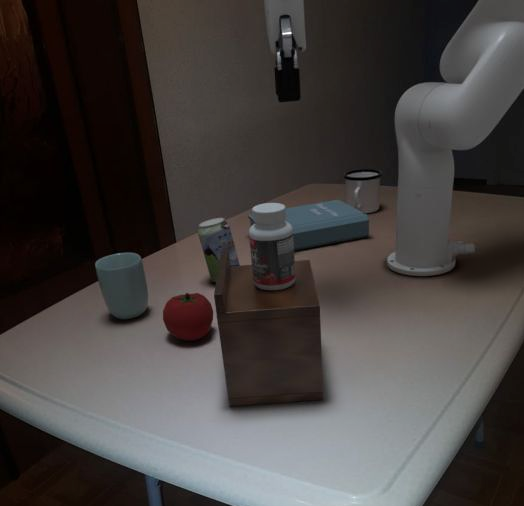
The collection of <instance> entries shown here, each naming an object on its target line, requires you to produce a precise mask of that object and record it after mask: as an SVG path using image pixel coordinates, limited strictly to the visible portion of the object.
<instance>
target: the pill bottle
mask: <svg viewBox="0 0 524 506" xmlns="http://www.w3.org/2000/svg"><path fill="white" fill-rule="evenodd" d="M251 212H252V213H251V214H252V215H253V217H252V218H253V221H254V222H255V224H254V225H252V226H251V225H250V228H249V230H248V241H249V249H250V259H251V265H252V271H253V281H254V285H255V286H256V287H258V288H259V289H263V290H281V289H285V288H288V287H290V286H291V285H293V284H294V282H295V261H296V260H295V251H294V241H293V228H292V226H291V225H290V224H289V223H288V222H286V221H285V219H286V205H285V204H284V203H279V202H266V203H259V204H257V205H255V206H253V207H252V209H251Z"/></svg>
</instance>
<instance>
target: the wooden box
mask: <svg viewBox="0 0 524 506" xmlns="http://www.w3.org/2000/svg"><path fill="white" fill-rule="evenodd" d="M213 299H214V306H215V313H216V320H217V327H218V335H219V341H220V350H221V356H222V362H223V370H224V377H225V379H224V380H225V386H226V393H227V400H228V406H229V407H240V406H252V405H253V406H254V405H267V404H281V403H294V402H307V401H321V400H324V381H323V356H322V355H323V353H322V327H321V325H322V324H321V323H322V322H321V305H320V304H321V303H320V301H319V300H320V299H319V296H318V291H317V286H316V282H315V278H314V274H313V269H312V265H311V261H310V259H304V260H303V259H302V260H301V259H300V260H295V282H294V284H293V285H291V286H290V287H288V288H285V289H281V290H263V289H259V288H258V287H256V286H255V285H254V281H253V271H252V264H242V265H240V266H230V258H229V250H222V251H221V256H220V262H219V268H218V274H217V280H216V282H215V285H214V292H213Z"/></svg>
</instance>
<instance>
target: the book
mask: <svg viewBox="0 0 524 506" xmlns="http://www.w3.org/2000/svg"><path fill="white" fill-rule="evenodd" d="M285 209H286V219H285V221H286V222H288V223H289V224H290V225H291V226H292V228H293V241H294V252H295V251H301V250H307V249H311V248H317V247H323V246H327V245H333V244H338V243H342V242H348V241H354V240H361V239H365V238H368V236H369V235H370V219H369V216H368V214H364V213H363V212H361V211H359V210H357V209H355V208H353V207H351V206H349V205H348V204H346V202H344V201H342V200H340V199H334V200H327V201H321V202H316V203H311V204H304V205H299V206H293V207H292V206H291V207H287V208H286V207H285ZM252 217H253V215H252V213H251V214H248V215H247V218H248V219H249V221H250V222H249V223H250V227H251V226H252V225H254V224H255V222H254V221H253V218H252Z"/></svg>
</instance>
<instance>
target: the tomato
mask: <svg viewBox="0 0 524 506" xmlns="http://www.w3.org/2000/svg"><path fill="white" fill-rule="evenodd" d="M162 321H163V322H164V327H165V328H166V330H167V331H168V332H169V334H171V335H172V336H174V337H176V338H177V339H180V340H184V341H198V340H200V339H201V340H202V339H203V338H204V337H205V336H206V335H207V334H209V331H210V329H211V327H212V324H213V321H214V309H213V305H212V303H211V302H210V301H209V299H208V298H207V297H206V296H205V295H204V294H201V293H199V292H193V293H189V292H185V294H178V295H174V296H172V297H171V298H170V299H168V300H167V301H166V303H165V305H164V307H163V310H162Z"/></svg>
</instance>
